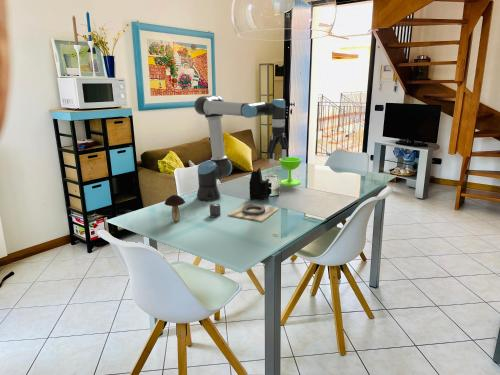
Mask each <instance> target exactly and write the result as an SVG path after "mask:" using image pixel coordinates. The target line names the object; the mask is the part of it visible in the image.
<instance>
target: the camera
mask: <svg viewBox="0 0 500 375" xmlns="http://www.w3.org/2000/svg"><path fill="white" fill-rule="evenodd" d="M248 183H249V199H250V201H253V200H255V201H256V200H258V201H264V200H265V199H269V198H270V196H271V195H272V186H273V185H272V182H270V179H269V178H266V180H263V176H262V171H261V167H258V169H256V170H252V171H251V173H250V179H249V182H248Z"/></svg>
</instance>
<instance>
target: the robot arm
mask: <svg viewBox="0 0 500 375" xmlns="http://www.w3.org/2000/svg"><path fill="white" fill-rule="evenodd" d="M193 106H194V111H195V112H196V113H197V114H199V115H201V116H204V118H205V119H206V120H207V124H208V130H209V139H210V140H209V141H210V148H211V155H212V157H211V158H210V160H206V161H203V162H200V163H198V165H197V179H198V189H197V193H196V199H197V200H198V201H200V202H211V201H212V202H214V201H217V200H219V199H221V192H220V191H219V188H218V182H217V180H220V179H222V178H226V177H227V176H229V175H230V174H231V173H232V171H233V164H232V162H231V161H230V160H229V158H228V156H227V155H226V152H225V143H224V133H223V126H222V125H223V124H222V118H223V117H224V115H225V116H234V117H244V118H248V119H252V118H256V117H263V116H270V117H271V126H272V127H271V133H272V134H273V135H270V136H269V137H270V138H269V143H268V147H267V150H266V152H267V153H268V154H269V165H272V166H273V165H275V153H274V152H275V150H276V148H277V145H278V144H280V146H281V158H282V160H286V157H287V150H288V149H289V143H288V139H287V133H285V132H286V127H285V126H286V100H285V98H274V99H272V100H271V102H267V101H266V102H263V101H257V102H254V103H251V102H250V103H249V102H237V101H236V102H231V101H224V99H223V98H222V97H221V96H219V95H214V94H213V95H203V96H198V98H197V99H196V100H195V101H194V104H193Z"/></svg>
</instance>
